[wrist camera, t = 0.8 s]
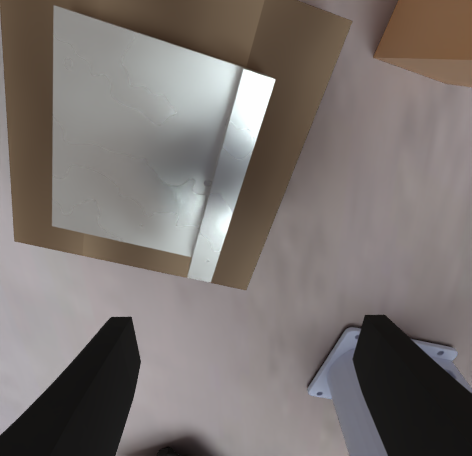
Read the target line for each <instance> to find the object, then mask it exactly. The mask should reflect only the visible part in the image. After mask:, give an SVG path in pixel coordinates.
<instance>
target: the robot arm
mask: <svg viewBox="0 0 472 456" xmlns="http://www.w3.org/2000/svg"><path fill="white" fill-rule="evenodd" d="M358 334H359V335H358ZM457 355H458V352H457V351H456V350H455V348H453V347H448V346H443V345H438V344H433V343H428V342H423V341H419V340H414V339H410V338H409V337H408V336H407V335H406V334H405V333H404V332H403V331H402V330H401V329H400V328H398V327H397V326H396V325H395V324H394V323H393V322H392V321H391V320H390V319H389V318H388V317H386V316H385V315H365V317H364V321H363V324H362V327H361V329H360V328H355V327H350V328H347V329H346V330H345V331H344V333H343V334H342V336H341V337H340V339H339V340H338V342H337V343H336V345H335V347H334V348H333V350H332V351H331V353H330V354H329V356H328V357H327V359H326V361H325V362H324V364H323V365H322V367H321V368H320V370H319V371H318V373H317V375H316V376H315V378H314V379H313V381H312V382H311V384H310V385H309V387H308V389H307V390H308V394H309V395H311V396H315V397H322V398H328V399H332V400H333V403H334V406H335V409H336V413H337V416H338V419H339V423H340V426H341V429H342V432H343V436H344V439H345V442H346V446H347V449H348V452H349V456H472V388H471V387H470V385H469V384H468V383H467V381H466V380H465V378H464V377H463V376H462V374H461V373H460V372H459V370H458V369H457V367H456V366H455V365H454V363H453V362H452V361H453V360H454V358H455V357H456V356H457ZM140 363H141V360H140V355H139V350H138V346H137V341H136V336H135V331H134V326H133V321H132V317H111V318H110V319H109V320H108V321H107V322H106V323H105V324H104V326H103V327H102V328H101V329H100V330H99V331H98V333H97V334H96V335H95V336H94V337H93V338H92V340H91V341H90V342H89V343H88V344H87V345H86V347H85V348H84V349H83V350H82V351H81V352H80V353H79V355H78V356H77V357H76V358H75V359H74V360H73V361H72V362H71V364H70V365H69V366H68V367H67V368H66V369H65V370H64V371H63V372H62V373H61V375H60V376H59V377H58V378H57V379H56V380H55V381H54V382H53V383H52V384H51V385H50V386H49V387H48V388H47V390H46V391H45V392H44V393H43V394H42V395H41V396H40V397H39V398H38V399H37V400H36V401H35V402H34V403H33V404H32V405H31V406H30V407H29V408H28V409H27V410H26V411H25V412H24V413H23V414H22V415H21V416H20V417H19V418H18V419H17V420H16V421H15V422H14V423H13V424H12V425H11V426H10V427H9V428H8V429H6V430H5V431H4V432H3V433H2V434H1V435H0V456H115V455H116V452H117V449H118V446H119V442H120V439H121V436H122V433H123V430H124V427H125V423H126V420H127V417H128V414H129V411H130V407H131V404H132V401H133V398H134V393H135V389H136V384H137V379H138V374H139V369H140Z"/></svg>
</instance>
